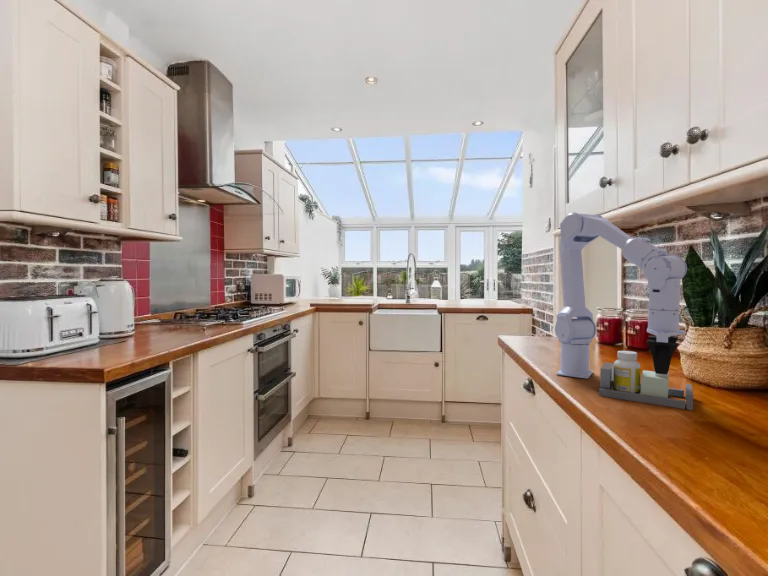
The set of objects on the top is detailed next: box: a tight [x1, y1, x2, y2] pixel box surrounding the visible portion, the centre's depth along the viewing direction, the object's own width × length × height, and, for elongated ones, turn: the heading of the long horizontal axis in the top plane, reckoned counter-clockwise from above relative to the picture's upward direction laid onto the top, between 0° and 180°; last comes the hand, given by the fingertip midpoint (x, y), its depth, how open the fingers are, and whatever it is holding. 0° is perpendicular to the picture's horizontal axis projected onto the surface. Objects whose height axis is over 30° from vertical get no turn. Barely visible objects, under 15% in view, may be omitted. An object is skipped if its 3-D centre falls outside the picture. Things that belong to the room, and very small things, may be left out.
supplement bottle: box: [613, 350, 641, 394], centre depth 97 cm, size 5×5×10 cm
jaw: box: [640, 369, 670, 398], centre depth 94 cm, size 7×5×10 cm
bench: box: [598, 362, 694, 411], centre depth 95 cm, size 11×17×6 cm, turn 55°
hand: (661, 370), depth 93 cm, fingers open, 7 cm apart
